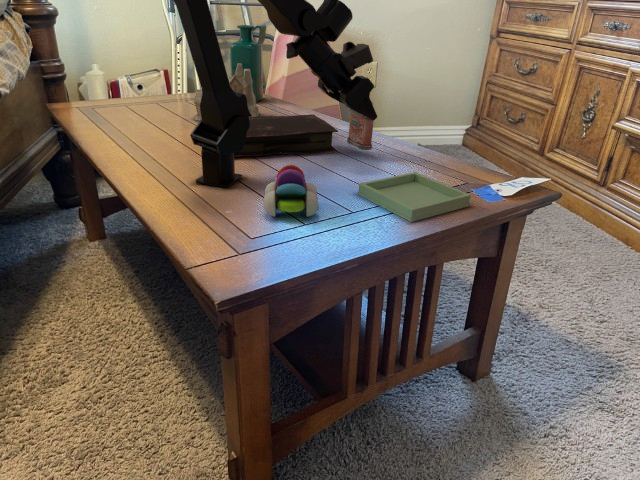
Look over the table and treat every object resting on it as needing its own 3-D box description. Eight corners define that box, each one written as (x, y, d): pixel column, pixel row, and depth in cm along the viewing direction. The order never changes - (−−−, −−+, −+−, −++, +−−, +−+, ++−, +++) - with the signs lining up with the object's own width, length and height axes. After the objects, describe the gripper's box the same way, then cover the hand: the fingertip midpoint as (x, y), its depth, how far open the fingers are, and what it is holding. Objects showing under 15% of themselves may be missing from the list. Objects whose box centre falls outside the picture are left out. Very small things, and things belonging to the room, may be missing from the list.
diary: (211, 137, 120) (210, 115, 118) (312, 132, 128) (313, 112, 126) (224, 160, 105) (223, 136, 102) (338, 153, 112) (339, 131, 110)
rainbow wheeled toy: (316, 199, 87) (317, 158, 84) (317, 223, 79) (319, 178, 75) (266, 198, 87) (266, 157, 84) (262, 222, 78) (262, 177, 75)
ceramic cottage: (266, 112, 144) (261, 57, 137) (244, 128, 130) (238, 67, 123) (215, 111, 148) (208, 56, 141) (189, 126, 134) (180, 66, 127)
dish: (410, 222, 80) (412, 209, 80) (358, 194, 90) (358, 183, 90) (469, 206, 88) (471, 194, 87) (414, 182, 97) (415, 171, 97)
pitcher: (229, 101, 158) (226, 24, 148) (239, 96, 165) (237, 22, 155) (259, 103, 156) (258, 26, 146) (268, 99, 163) (268, 24, 154)
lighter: (343, 140, 114) (347, 94, 109) (357, 139, 115) (361, 94, 111) (361, 150, 107) (365, 102, 103) (375, 149, 108) (380, 101, 104)
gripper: (368, 32, 92) (415, 94, 100) (334, 25, 108) (377, 79, 116) (324, 77, 93) (374, 135, 101) (297, 63, 109) (342, 115, 117)
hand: (367, 114), depth 109 cm, fingers closed on lighter, 8 cm apart
